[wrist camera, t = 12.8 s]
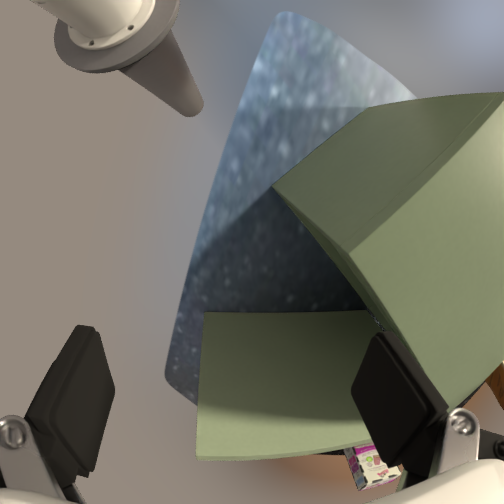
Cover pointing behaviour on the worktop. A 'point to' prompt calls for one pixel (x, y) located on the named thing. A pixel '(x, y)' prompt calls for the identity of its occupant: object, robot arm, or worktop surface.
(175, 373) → the worktop surface
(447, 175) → the cabinet
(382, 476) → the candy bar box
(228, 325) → the door
